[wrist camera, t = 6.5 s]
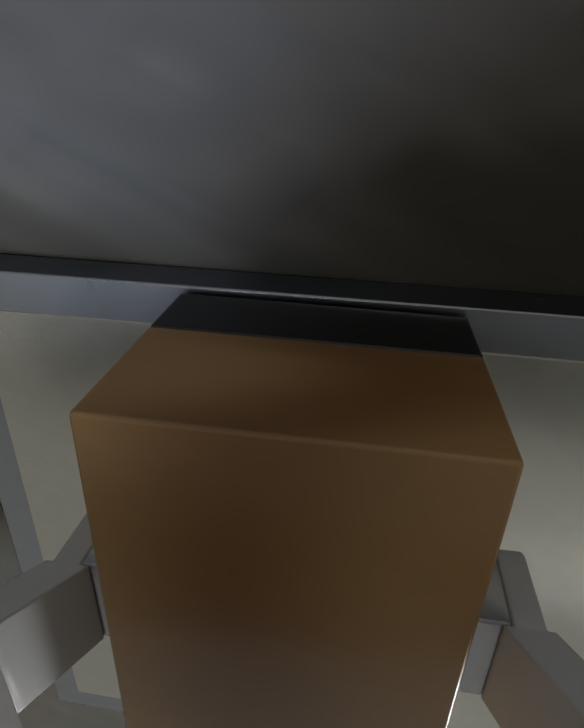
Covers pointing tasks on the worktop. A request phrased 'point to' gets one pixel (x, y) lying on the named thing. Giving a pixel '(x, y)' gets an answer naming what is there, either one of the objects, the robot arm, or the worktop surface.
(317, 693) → the eraser
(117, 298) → the whiteboard
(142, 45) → the worktop surface
